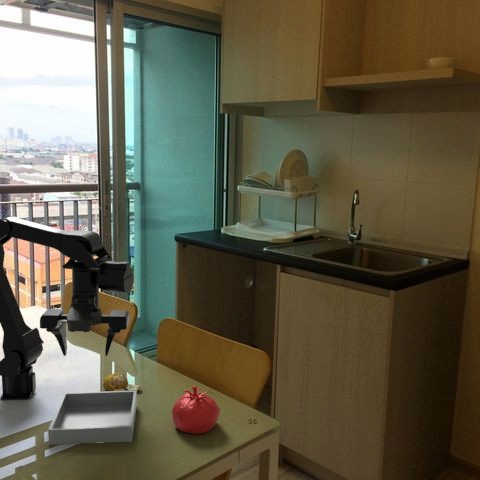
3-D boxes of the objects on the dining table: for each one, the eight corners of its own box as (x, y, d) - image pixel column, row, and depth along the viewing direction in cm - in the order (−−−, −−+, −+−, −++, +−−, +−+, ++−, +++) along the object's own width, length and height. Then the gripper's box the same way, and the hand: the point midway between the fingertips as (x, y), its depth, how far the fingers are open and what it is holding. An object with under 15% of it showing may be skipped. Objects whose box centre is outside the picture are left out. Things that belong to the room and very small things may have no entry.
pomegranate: (200, 445, 108) (201, 402, 107) (162, 430, 113) (162, 388, 112) (228, 424, 116) (229, 384, 115) (191, 411, 122) (191, 372, 120)
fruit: (117, 400, 125) (116, 385, 124) (94, 392, 129) (93, 377, 129) (143, 387, 131) (143, 373, 131) (120, 380, 136) (119, 366, 136)
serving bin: (48, 449, 105) (48, 430, 105) (64, 409, 121) (63, 392, 120) (132, 445, 107) (131, 426, 107) (136, 406, 123) (136, 390, 122)
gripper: (31, 298, 110) (33, 370, 113) (123, 300, 112) (123, 370, 115) (46, 284, 121) (47, 349, 124) (129, 286, 123) (129, 350, 126)
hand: (85, 355), depth 122 cm, fingers open, 9 cm apart
